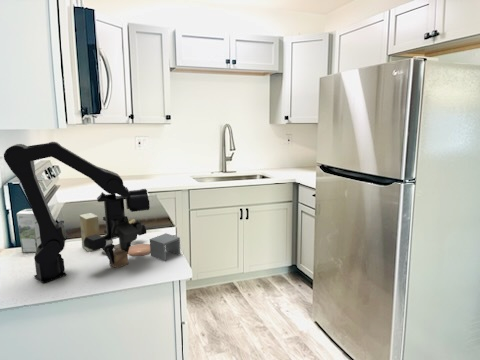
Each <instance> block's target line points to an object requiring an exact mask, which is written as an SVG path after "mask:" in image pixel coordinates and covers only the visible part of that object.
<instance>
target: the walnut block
mask: <svg viewBox="0 0 480 360" xmlns="http://www.w3.org/2000/svg"><path fill="white" fill-rule="evenodd" d="M113 253H114V264H112V263H111V262H110V260H109V259H108V260H109V265H110V266H112V267H114V268H116V269H118V268H121V267H123V266H126V265H128V264H129V259H128V258H129V257H128V256H129V255H128V254H127V251H124V250H122V249H118V250H116V249H114V250H113Z"/></svg>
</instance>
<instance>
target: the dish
mask: <svg viewBox="0 0 480 360" xmlns="http://www.w3.org/2000/svg"><path fill="white" fill-rule="evenodd" d="M150 254H151V253H150V243H138V244H132V245H131V246H130V248H129V251H128V256H130V257H131V256H132V257H141V256H145V255H150Z"/></svg>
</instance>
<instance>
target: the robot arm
mask: <svg viewBox="0 0 480 360" xmlns="http://www.w3.org/2000/svg"><path fill="white" fill-rule="evenodd" d="M49 158H54V159H55V160H56V161H59V162H61V163H63V164H64V165H65V166H68V167H70V168H71V169H73V170H75V171H76V172H79V173H80V174H82V175H84V176H86V177H88V178H89V179H91V181H93V182H94V183H95V184H96V185H97V186H98V187H100V188H101V189H102V190H104V192H106V193H108V194H106V193H104V192H101V193H100V194H99V196H97V197H96V199H97V202H98V203H103V205H104V216H103V217H102V220H103V221H105V228H104V229H103V231H104V234H105V235H100V234H99V235H97V234H95V235H92V236H88V237H86V238H85V239H84V246H85V247H87V248H89V249H92V250H94V251H97V250H100V249H101V250H102V251H103V252H104V254H105V255H106V257H107V259H108V260H110V262H111V263H112V264H114V253H113V251H114V249H113V248H114V246H115V245H116V244H113V243H112V241H111V240H116V239H118V240H119V239H120V244H121V249H122V250H124V251H127V254H128V251H129V248H130V245H131V246H132V243H133V242H134V241H136V240H137V239H138V236H142V235H145V234H147V227H146V225H145V224H142V223H141V222H140V221H137V222H136V221H135V223H131V224H130V223H129V221H130V220H129V218H128V216H126V212H125V208H126V210H128V211H130V213H133V212H143V211H144V212H145V211H149V210H150V199H149V195H148V189H146V188H140V189H134V190H129V189H128V187H126V186H125V185H124V181H123V179H122V178H121V176H120V175H119V174H118V173H116V172H114V171H112V170H109V169H107V168H103V167H101V166H100V167H99V166H97V165H95V164H93V163H92V162H90V161H88V160H86V159H85V158H83V157H82V156H79V155H78V154H76V153H74V152H73V151H71V150H69V149H67V148H65V147H64V146H62V145H61V144H60V143H59V142H58V141H50V142H47V143H41V144H40V143H39V144H34V145H25V144H22V143H16V144H14V145H11V146H9V147H8V148H7V149H5V151H4V153H3V159H4V162H5V164H6V165H7V167H8V168H9V169H10V171H11V172H12V173H13V174H14V175H15V176H16V178H17V179H18V180H19V182H20V184H21V188H22V189H23V191H24V194H25V196H26V198H27V201H28V204H29V206H30V209H32V211H33V213H34V216H35V218H36V220H37V223H38V225H39V232H40V240H41V244H40V245H39V246H38V248H37V251H36V252H35V253H34V254H35V255H34V257H33V258H34V265H35V273H36V274H35V275H33V276H34V278H35V279H36V280H37V281H39V282H41V283H43V284H45V283H48V282H52V281H54V280H57V279H60V278H62V277H66V276H67V273H66V272H65V270H66V269H65V260H64V258H63V257H62V254H61V252H62V251H63V250H64V249H65V246H66V245H65V244H66V241H67V235H68V232H67V231H66V230H65V228H64V224H63V223H64V222H63V221H60V222H56V220H55V219H54V217H53V215H52V212H51V210H50V207H49V205H48V202H47V200H46V197H45V195H44V192H43V190H42V187H41V185H40V182H39V180H38V178H37V175H36V169H35V161H37V160H38V161H39V160H43V159H49ZM116 194H117V195H116ZM124 200H125V201H124ZM106 234H107V235H106ZM110 262H109V263H110Z"/></svg>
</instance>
